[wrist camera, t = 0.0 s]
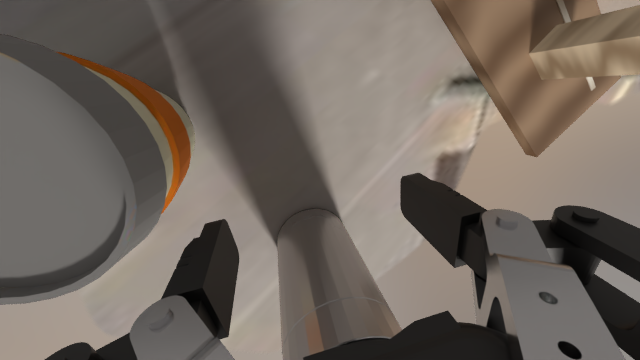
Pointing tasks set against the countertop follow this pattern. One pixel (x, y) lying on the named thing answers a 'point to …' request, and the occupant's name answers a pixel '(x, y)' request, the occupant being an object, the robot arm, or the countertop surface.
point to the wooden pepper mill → (591, 47)
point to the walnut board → (523, 63)
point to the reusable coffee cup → (79, 168)
